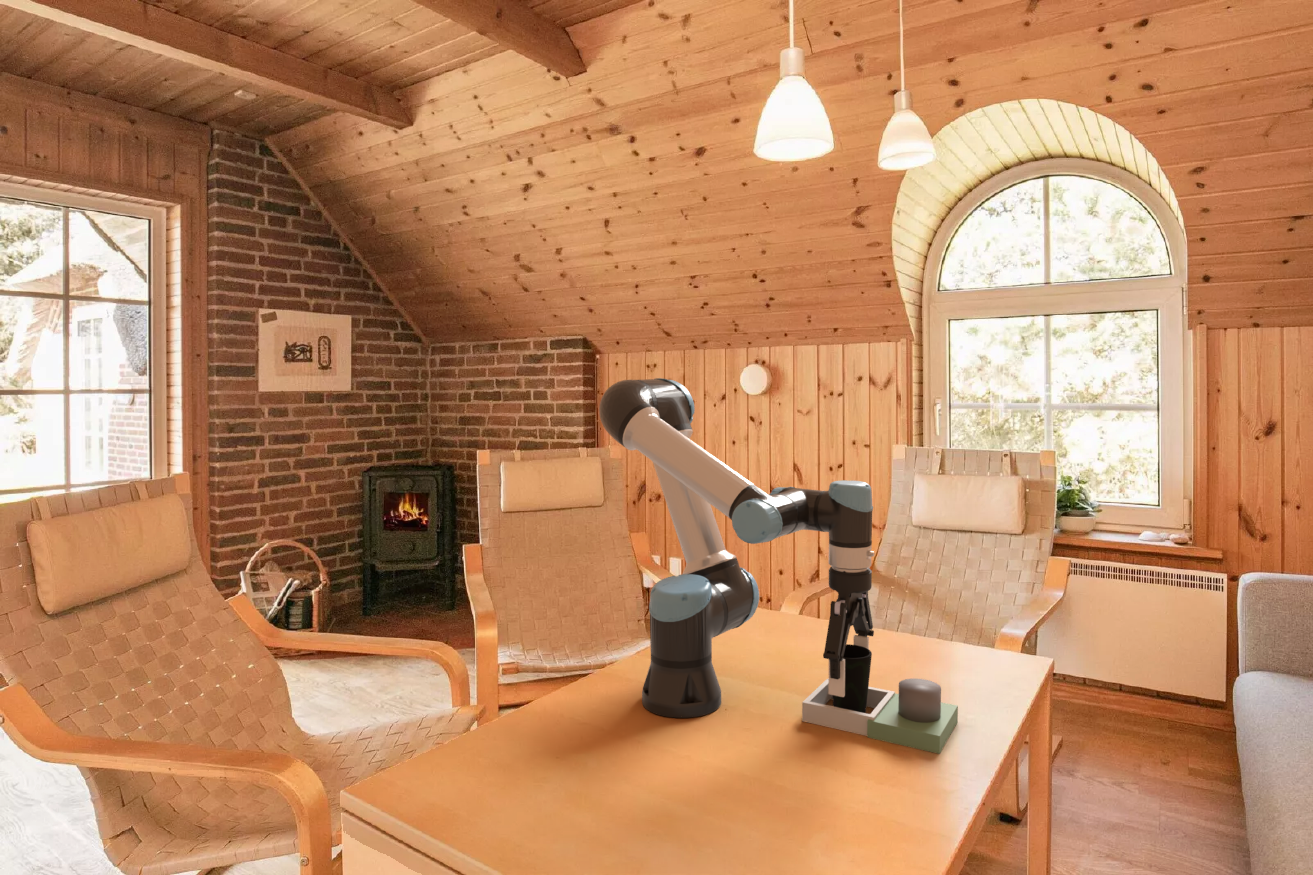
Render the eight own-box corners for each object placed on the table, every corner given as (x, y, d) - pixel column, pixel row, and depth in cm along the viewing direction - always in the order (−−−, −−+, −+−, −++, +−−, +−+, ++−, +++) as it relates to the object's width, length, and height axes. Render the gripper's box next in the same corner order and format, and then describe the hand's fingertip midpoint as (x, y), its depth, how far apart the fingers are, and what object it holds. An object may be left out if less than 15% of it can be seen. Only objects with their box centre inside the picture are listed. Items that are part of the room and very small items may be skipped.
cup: (872, 725, 143) (873, 659, 142) (828, 722, 145) (828, 657, 144) (869, 708, 151) (870, 645, 150) (827, 705, 152) (828, 643, 151)
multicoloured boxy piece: (801, 722, 145) (801, 678, 144) (828, 695, 157) (828, 655, 156) (939, 753, 132) (940, 706, 132) (957, 721, 144) (958, 678, 144)
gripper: (847, 585, 133) (847, 711, 135) (890, 555, 154) (889, 664, 156) (804, 580, 137) (804, 702, 138) (851, 551, 158) (851, 657, 160)
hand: (849, 682), depth 147 cm, fingers open, 13 cm apart
